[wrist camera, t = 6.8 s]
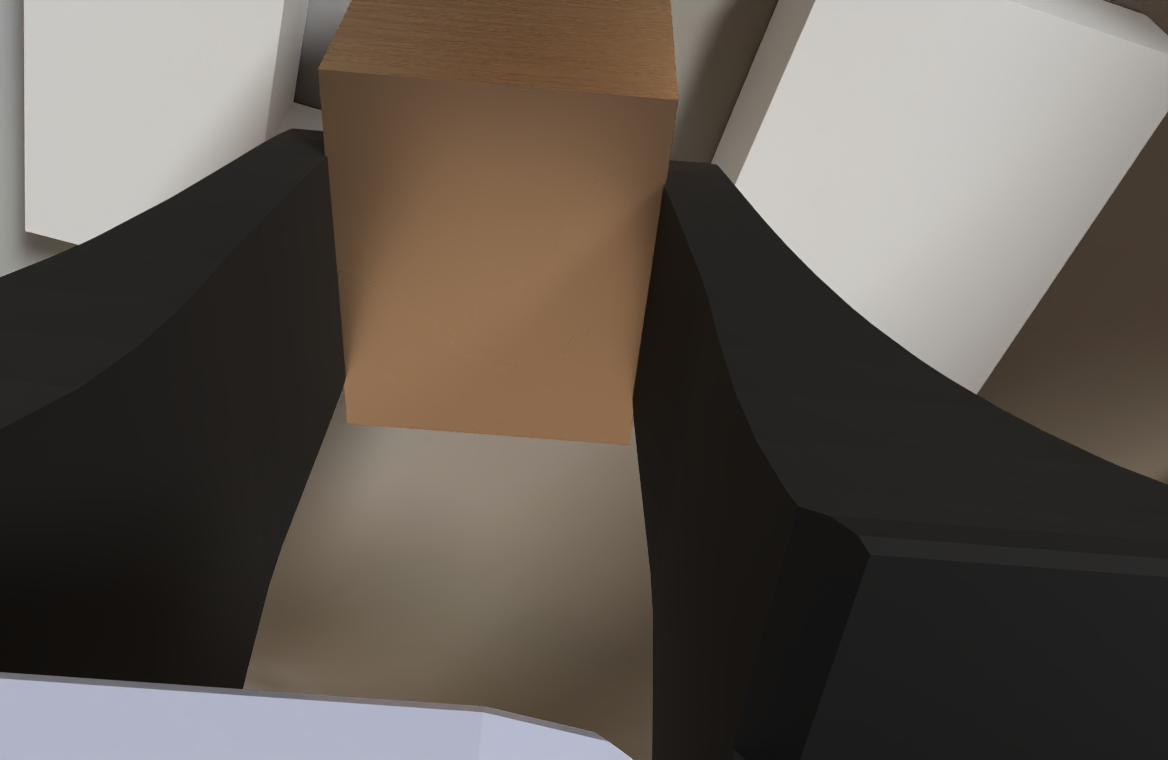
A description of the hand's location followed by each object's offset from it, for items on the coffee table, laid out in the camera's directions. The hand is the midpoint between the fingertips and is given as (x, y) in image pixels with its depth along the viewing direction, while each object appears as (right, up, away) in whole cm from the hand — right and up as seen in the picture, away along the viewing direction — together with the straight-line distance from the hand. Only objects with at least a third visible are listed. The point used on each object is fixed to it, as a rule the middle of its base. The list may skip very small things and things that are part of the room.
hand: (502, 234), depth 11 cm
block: (0, +3, +3) cm, 4 cm away
